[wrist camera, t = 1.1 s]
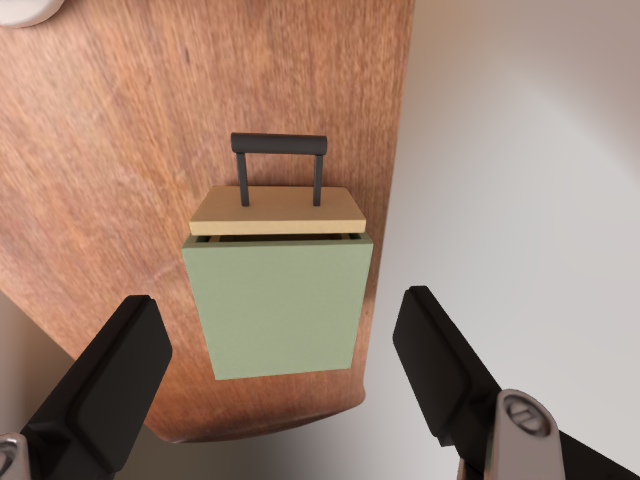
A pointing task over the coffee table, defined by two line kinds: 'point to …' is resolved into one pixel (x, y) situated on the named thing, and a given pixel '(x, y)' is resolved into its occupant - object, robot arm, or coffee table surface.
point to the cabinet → (278, 302)
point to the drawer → (277, 200)
